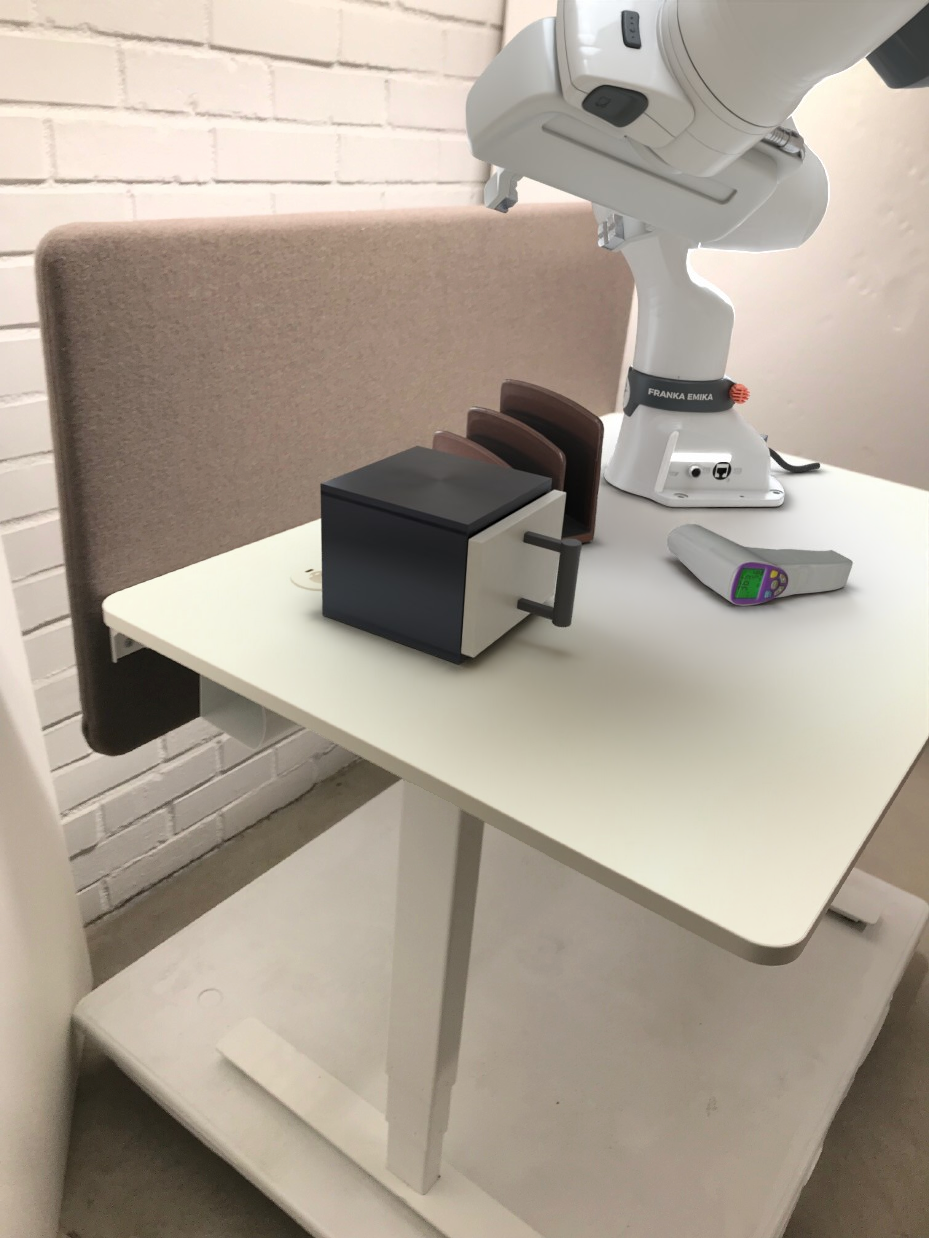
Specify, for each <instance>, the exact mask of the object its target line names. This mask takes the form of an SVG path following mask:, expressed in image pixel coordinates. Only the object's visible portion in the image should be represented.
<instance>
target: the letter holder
mask: <svg viewBox="0 0 929 1238" xmlns="http://www.w3.org/2000/svg"><path fill="white" fill-rule="evenodd" d="M499 393H500V395H499V411H498V410H494V409H491V408H487V407H482V406H478V405H474V406H471V407H469V409H467V415H466V428H465V429H466V430H465V437H464V436H462V435H460V434H456V433H453V432H451V431H449V430H442V429H441V430H440V429H437V430H436V431H435V432H434V434H433V437H432V445H431V449H433V450H437V451H441V452H445V453H450V454H454V455H458V456H462V457H466V458H470V459H474V460H478V461H482V462H487V463H491V464H495V465H499V466H503V467H507V468H511V469H515V470H520V471H524V472H528V473H532V474H536V475H540V476H544V477H548V478H552V484H551V491H553V490H558V491H562V492H566V500H565V508H564V517H563V525H562V534H561V540H563V539H568V538H570V539H576V540H579V541H580V542H581V544H586V543H591V542H592V541H593V540H594V537H595V531H596V521H597V510H598V501H599V500H598V499H599V490H600V484H601V483H600V482H601V473H602V456H603V446H604V438H605V425H604V422H603V421H602V419H601V418H600V417H599V416H597V415H596V414H595V413H593V412H591V410H588V409H587V408H586V407H584V406H583V405H581V404H580V403H578V402H577V401H575V400H573V399H571V398H569V397H567V396H565V395H563V394H561V393H558V392H556V391H554V390H551V389H548V388H546V387H543V386H540V385H537V384H535V383H531V382H528V381H524V380H519V379H518V380H517V379H512V378H506V379H504V380H502V381H501V384H500V392H499Z"/></svg>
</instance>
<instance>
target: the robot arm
mask: <svg viewBox="0 0 929 1238" xmlns="http://www.w3.org/2000/svg"><path fill="white" fill-rule="evenodd" d="M864 59H865V60H866V61H867V63H868V64H869V65H870V67H872V69H873V70H874V72H875V73H876V74H877V75H878V76H879V77H880V79H881V80H882V81H883V83H884V84H885V85H886V86H887V88H890V89H893V90H913V89H924V88H929V0H557V1H556V13H555V16H547V17H542V18H538V19H536V20H535V21H533V22H531V23H529V24H527V25H526V26H525V27H523V28H522V29H521V30H520V31H519V32H518V33H517V34H516V35H514V36H513V37H512V38H511V40H510V41H509V42H508V43H507V44H506V45H505V46H504V47H503V48H502V49H501V50H500V51H499V52H498V53H497V54H496V56H495V57H494V58H492V60H491V61H490V63H489V64H488V65H487V66H486V67H485V68H484V69H483V71H482V73H481V74H480V75H479V76H478V78H477V79H476V80H475V82H474V83H473V85H472V86H471V87H470V90H469V91H468V93H467V95H466V101H465V108H464V109H465V110H464V111H465V112H464V113H465V114H464V116H465V117H464V119H465V121H464V122H465V123H464V125H465V134H466V140H467V145H468V149H469V152H470V154H471V156H472V157H474V158H475V159H476V160H479V161H481V162H484V163H487V164H490V165H492V166H495V167H496V171H495V173H494V174H492V176H491V177H490V178H489V179H488V180H487V181H486V183H485V185H484V189H483V204H484V207H485V208H487V209H490V210H492V211H496V212H499V213H503V214H507V213H508V212H509V210H510V208H513V207H514V206H515V205H516V204H517V203H518V202H519V193H518V190H517V189H516V188H517V187H518V182H520V181H521V180H522V179H523V178H527V179H529V180H533V181H535V182H538V183H540V184H542V185H545V186H548V187H551V188H553V189H556V190H559V191H560V192H561V191H562V192H564V193H567V194H569V195H572V196H575V197H577V198H579V199H583V200H585V201H588V202H590V203H591V209H592V212H593V216H594V219H595V221H596V223H597V225H598V228H597V237H598V240H597V245H598V247H600V248H603V249H605V250H608V251H610V252H613V253H619V252H620V253H621V254H622V256H623V257H624V259H625V260H626V262H627V265H628V267H629V269H630V271H631V274H632V277H633V280H634V284H635V289H636V290H635V291H636V293H637V294H636V296H637V297H636V298H637V322H636V335H635V345H634V353H633V360H632V364H631V365H629V367H628V371H627V376H626V377H625V382H624V390H623V398H622V411H623V416H622V420H621V425H620V428H619V432H618V435H617V439H616V442H615V445H614V448H613V452H612V454H611V457H610V458H609V459H610V460H609V462H608V464H607V466H606V468H605V470H604V472H603V477H604V478H605V480H606V482H608V483H609V484H611V485H612V486H614V487H616V488H617V489H620V490H622V491H625V492H627V493H630V494H634V495H636V496H640V497H644V498H647V499H650V500H652V501H654V502H656V503H658V504H660V505H662V506H666V507H671V508H672V507H673V508H710V507H711V508H716V507H717V508H718V507H720V508H721V507H722V508H725V507H727V508H728V507H731V508H733V507H734V508H735V507H736V508H737V507H741V508H744V507H746V508H747V507H751V508H752V507H754V508H755V507H780V506H782V504H784V501H785V495H786V494H785V489H784V487H783V485H782V483H781V482H780V481H779V480H778V479H777V478H776V477H774V475H772V474H771V468H772V467H771V464H772V463H771V462H772V461H771V458H772V460H773V461H774V462H775V463H777V465H778V466H779V467H781V468H782V469H783V470H785V471H788V472H791V473H805V472H810V471H814V470H819V469H820V468H821V463H820V462H811V463H807V464H802V465H792V464H790V463H788V462H787V461H785V460H784V458H783V457H782V456H781V455H780V454H779V453H777V451H775V450H774V449H772V448H771V447H769V445H768V443H767V442H768V437H769V435H767V434H762V433H758V431H757V430H756V429H755V428H754V426H752V424H750V423H749V421H747V419H745V417H743V415H742V414H741V413H740V412H738V410H737V409H736V408H734V405H735V404H737V405H738V404H739V405H742V404H745V403H746V401H749V398H750V396H751V395H750V394H751V392H750V391H749V389H748V388H747V387H746V386H745V385H744V384H742V383H737V382H736V381H735V380H733V378H731V377H730V376H728V375H727V374H726V369H727V363H728V357H729V353H730V347H731V342H732V337H733V331H734V327H735V321H736V313H735V309H734V306H733V303H732V301H731V299H730V298H729V297H728V295H726V294H725V293H724V292H723V291H721V289H719V288H718V287H716V285H714V284H712V283H710V282H709V281H707V280H706V279H704V278H703V277H701V276H699V275H698V274H697V273H696V272H695V271H694V270H693V268H692V267H691V264H690V258H689V257H690V254H691V252H693V251H694V250H699V249H701V250H712V251H723V252H724V251H726V252H735V253H736V252H737V253H747V254H748V253H749V254H750V253H751V254H760V253H772V252H781V251H788V250H794V249H799V248H800V247H801V246H803V245H804V244H805V243H806V242H807V241H808V240H810V239H811V237H812V236H813V235H815V233H816V231H817V230H818V229H819V227H820V225H821V224H822V222H823V220H824V219H825V215H826V213H827V209H828V206H829V203H830V190H831V189H830V180H829V175H828V172H827V169H826V167H825V164H823V161H822V160H821V159H820V157H819V156H818V154H817V153H816V152H814V151H813V150H812V148H811V147H810V146H809V145H808V144H807V142H806V141H805V139H804V137H803V136H802V134H801V133H800V130H799V128H798V126H797V124H796V120H795V118H794V115H793V114H794V113H795V112H796V111H797V110H798V108H799V107H800V106H801V104H802V103H803V102H804V100H805V99H806V97H807V96H808V95H809V94H810V93H811V92H812V91H813V90H814V89H815V88H816V87H818V86H819V85H820V84H821V83H822V82H824V81H826V80H828V79H830V78H832V77H835V76H838V75H839V74H841V73H844V72H846V71H848V70H849V69H851V68H853V67H855V66H856V65H858V64H859V63H860V62H861V61H863V60H864Z"/></svg>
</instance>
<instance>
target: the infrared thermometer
mask: <svg viewBox="0 0 929 1238" xmlns="http://www.w3.org/2000/svg"><path fill="white" fill-rule="evenodd" d="M666 545H667V548H668V550H669V551H670V553H671V554H673V555H674V556H675V557H676V558H677V559H678V560H679V561H680V562H681V563H682V564H683V565H684V566H685V567H686V568H687V569H688V570H689V571H690V572H691V573H692V574H693V575H694V577H696V578H697V579H698V580H699V581H700V582H701V583H702V584H703V585H705V586H706V587H708V588H710V589H711V590H712V591H714V592H715V593H717V594H719V595H720V596H722V597H723V598H724V599H726V600H727V601H729V602H730V603H732V604H734V605H736V606H741V607H742V606H743V607H744V606H754V605H759V604H763V603H766V602H769V601H772V600H774V599H775V598H776V599H777V598H784V597H789V596H792V595H799V594H810V593H812V594H813V593H821V592H822V593H823V592H829V591H834V590H839V589H842V588H844V587H846V585H847V582H848V580H849V576H850V573H851V570H852V568H853V564H854V562H853V560H852V559H850V558H848V557H847V556H844V555H843V554H841V553H838V552H837V551H836V550H833V549H829V550H812V549H811V550H810V549H809V550H808V549H796V548H795V549H794V548H780V549H779V548H764V547H750V546H745V545H742V544H739V543H738V542H735V541H733V540H731V539H729V538H727V537H724V536H723V535H720V534H718V533H716V532H714V531H713V530H710V529H708V528H706V527H703V526H702V525H700V524H696V523H685V524H681V525H679V526H677V527H676V528H674V529H672V531H671V532H670V533H669V535H668V537H667V540H666Z"/></svg>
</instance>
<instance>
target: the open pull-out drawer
mask: <svg viewBox="0 0 929 1238" xmlns="http://www.w3.org/2000/svg"><path fill="white" fill-rule="evenodd" d="M565 500H566V492H562V491H558V490H553V491H551V492H550V493H548V494H546V495H544V496H543V497H541V498H539V499H537V500H536V501H534V502H532V503H531V504H529V505H527V506H525V507H524V508H522V509H520V510H518V511H517V512H515V513H513V514H512V515H510V516H508V517H506V518H505V519H503V520H501V521H499V522H498V523H496V524H489V525H488V526H486V527H484V528H482V529H481V530H479V531H477V532H475V533H474V537H472V538H470V539H469V543H468V558H467V573H466V588H465V603H464V618H463V633H462V648H461V653H462V654H465V655H467V656H469V658H470V657H471V658H476V657H477V656H478V655H479V654H480V653H482V652H483V651H484V650H485V649H486V648H488V647H489V646H490V645H492V644H493V643H495V642H496V641H497V640H498V639H499V638H501V637H502V636H504V635H505V634H507V632H508V631H509V630H511V629H512V628H514V627H515V626H516V625H518V624H519V623H520V622H522V621H523V620H524V619H525V618H526V617H527V616H529V615H531V614H532V615H535V616H538V617H542V618H544V619H547V620H551V624H552V625H553V626H555V627H558V628H569V627H570V626H571V625H572V621H573V615H574V607H575V606H574V605H575V597H576V590H577V581H578V574H579V567H580V560H581V551H582V543H581V542H580V541H579V540H576V539H570V538H568V539H563V540H561V534H562V525H563V517H564V508H565ZM553 596H554V599H553V606H550V605H547V604H544V603H546V602H547V601H549V599H551V598H552V597H553Z"/></svg>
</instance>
